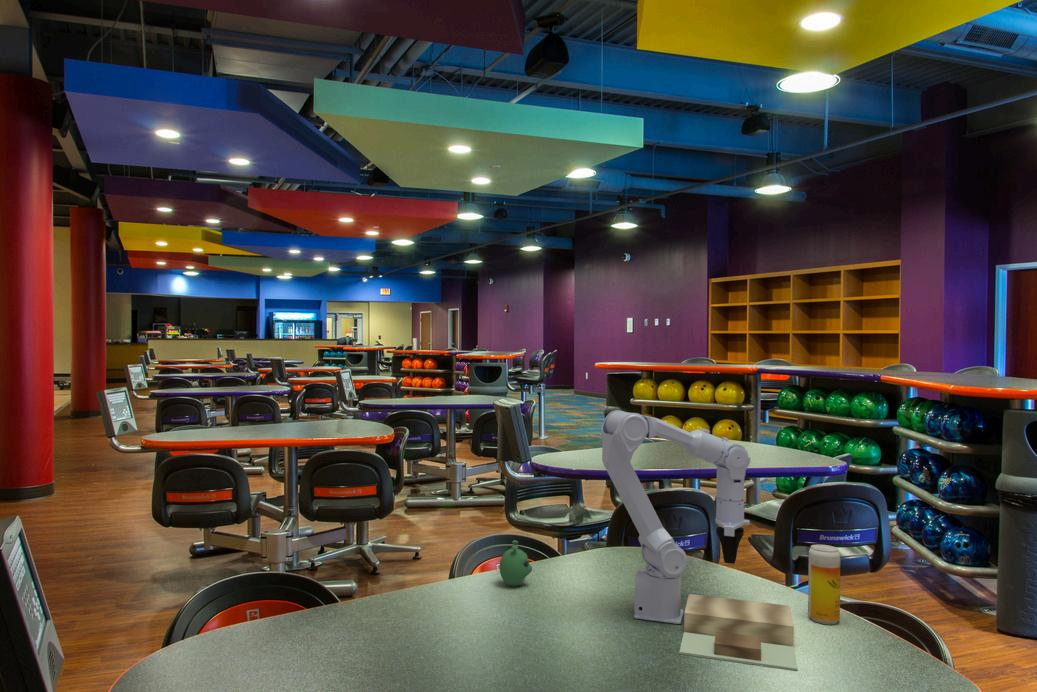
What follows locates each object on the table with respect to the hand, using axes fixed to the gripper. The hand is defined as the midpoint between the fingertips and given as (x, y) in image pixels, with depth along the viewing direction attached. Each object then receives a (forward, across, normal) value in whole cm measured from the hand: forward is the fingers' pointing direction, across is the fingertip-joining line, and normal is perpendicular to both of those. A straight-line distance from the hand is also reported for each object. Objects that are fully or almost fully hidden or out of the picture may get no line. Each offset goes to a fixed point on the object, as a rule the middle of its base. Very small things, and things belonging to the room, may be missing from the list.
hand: (729, 562), depth 151 cm
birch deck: (+10, -10, -2) cm, 15 cm away
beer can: (+11, +2, -19) cm, 22 cm away
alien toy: (+10, 0, +48) cm, 49 cm away
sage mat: (+10, -22, -2) cm, 24 cm away
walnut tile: (+8, -22, -2) cm, 24 cm away
